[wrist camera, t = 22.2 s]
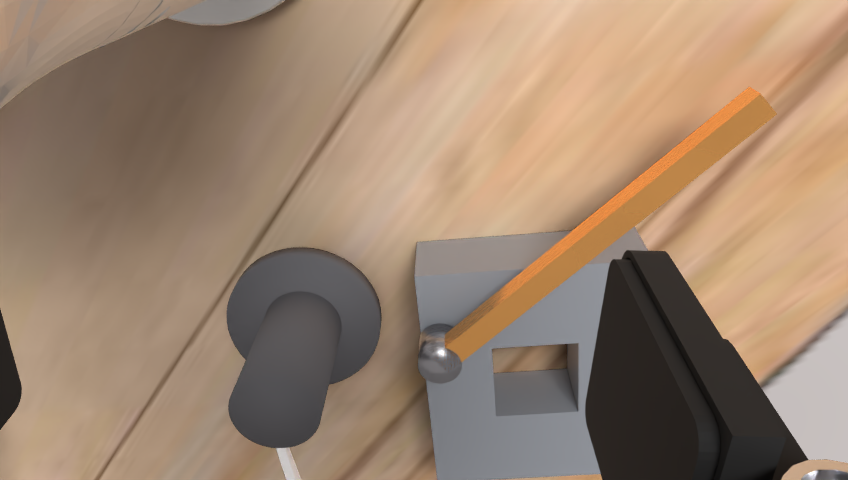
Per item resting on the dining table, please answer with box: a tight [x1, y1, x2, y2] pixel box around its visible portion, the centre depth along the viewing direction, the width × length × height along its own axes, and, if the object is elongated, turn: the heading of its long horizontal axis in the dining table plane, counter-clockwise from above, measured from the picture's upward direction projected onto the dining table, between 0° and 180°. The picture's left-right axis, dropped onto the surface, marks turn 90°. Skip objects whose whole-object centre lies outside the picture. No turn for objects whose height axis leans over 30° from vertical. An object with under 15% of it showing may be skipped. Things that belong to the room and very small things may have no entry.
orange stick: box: [418, 87, 777, 384], centre depth 34 cm, size 20×2×2 cm, turn 135°
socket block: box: [414, 227, 648, 480], centre depth 41 cm, size 12×14×4 cm
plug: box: [227, 248, 381, 448], centre depth 36 cm, size 8×8×12 cm
